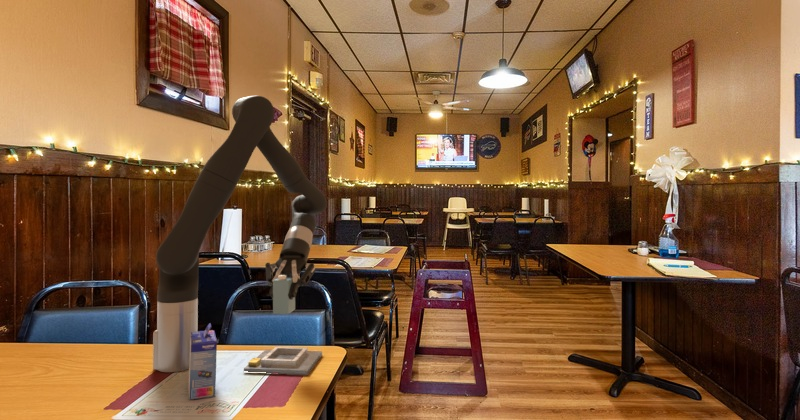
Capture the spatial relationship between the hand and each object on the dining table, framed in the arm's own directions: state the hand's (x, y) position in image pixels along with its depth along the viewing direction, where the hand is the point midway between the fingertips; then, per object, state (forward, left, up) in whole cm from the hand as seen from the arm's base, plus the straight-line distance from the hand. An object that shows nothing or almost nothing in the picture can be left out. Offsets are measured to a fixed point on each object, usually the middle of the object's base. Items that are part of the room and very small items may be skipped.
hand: (281, 297), depth 106 cm
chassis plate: (0, +4, -18) cm, 19 cm away
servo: (0, +2, -4) cm, 4 cm away
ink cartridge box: (-13, -13, -19) cm, 26 cm away
